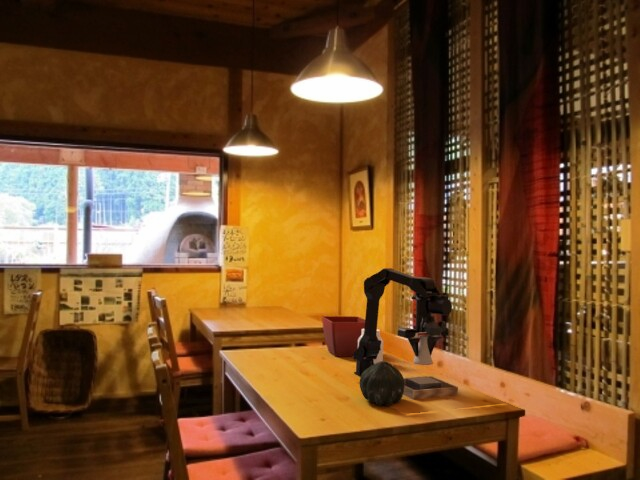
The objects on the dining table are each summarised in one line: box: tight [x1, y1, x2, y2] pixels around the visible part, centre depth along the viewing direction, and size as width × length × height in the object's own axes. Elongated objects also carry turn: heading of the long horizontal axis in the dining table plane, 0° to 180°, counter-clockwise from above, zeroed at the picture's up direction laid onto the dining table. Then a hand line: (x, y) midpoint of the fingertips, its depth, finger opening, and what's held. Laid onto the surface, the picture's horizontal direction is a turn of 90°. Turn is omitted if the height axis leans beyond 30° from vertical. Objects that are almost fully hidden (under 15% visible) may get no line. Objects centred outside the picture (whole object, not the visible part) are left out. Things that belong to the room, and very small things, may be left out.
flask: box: [412, 334, 434, 366], centre depth 193 cm, size 7×7×10 cm
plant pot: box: [321, 315, 365, 357], centre depth 257 cm, size 19×19×17 cm
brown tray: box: [403, 375, 459, 401], centre depth 191 cm, size 18×16×4 cm
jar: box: [358, 328, 384, 364], centre depth 237 cm, size 12×10×15 cm
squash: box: [359, 360, 405, 407], centre depth 178 cm, size 14×15×15 cm
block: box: [405, 376, 441, 390], centre depth 191 cm, size 9×9×4 cm
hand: (423, 355), depth 193 cm, fingers closed on flask, 5 cm apart
